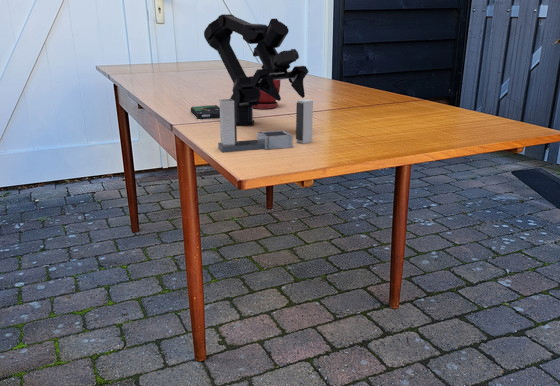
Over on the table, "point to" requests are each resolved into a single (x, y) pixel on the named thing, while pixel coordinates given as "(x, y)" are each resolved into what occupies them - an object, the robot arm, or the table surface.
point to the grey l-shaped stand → (263, 140)
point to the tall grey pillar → (304, 121)
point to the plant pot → (267, 98)
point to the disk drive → (206, 112)
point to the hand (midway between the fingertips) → (292, 98)
